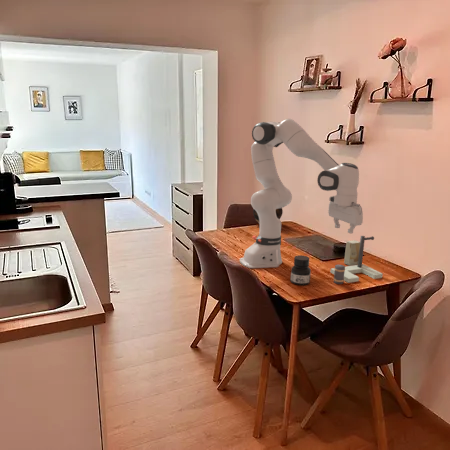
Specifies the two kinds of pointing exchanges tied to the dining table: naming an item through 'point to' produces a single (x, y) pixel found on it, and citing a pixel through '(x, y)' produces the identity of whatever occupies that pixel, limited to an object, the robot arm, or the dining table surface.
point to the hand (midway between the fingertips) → (343, 230)
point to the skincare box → (352, 252)
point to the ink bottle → (300, 270)
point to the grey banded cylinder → (339, 274)
